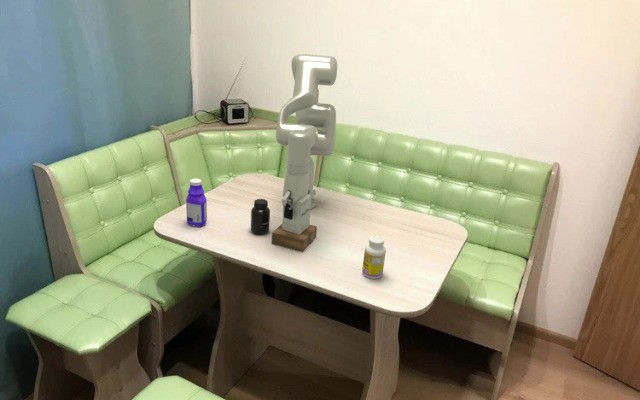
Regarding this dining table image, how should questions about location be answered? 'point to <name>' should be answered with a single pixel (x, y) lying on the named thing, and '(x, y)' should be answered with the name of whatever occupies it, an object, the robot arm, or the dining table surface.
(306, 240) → the walnut block
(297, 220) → the supplement box
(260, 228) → the supplement bottle
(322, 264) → the dining table surface
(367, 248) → the supplement bottle
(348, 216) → the dining table surface
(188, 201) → the bottle
